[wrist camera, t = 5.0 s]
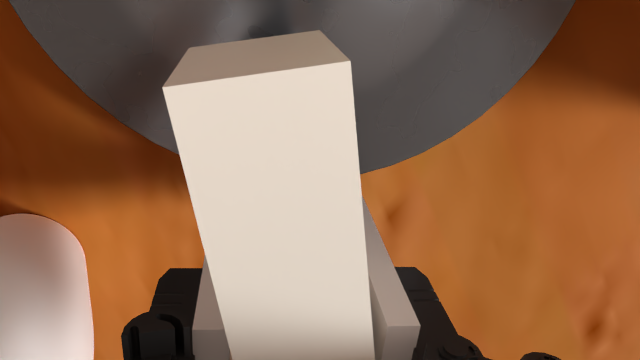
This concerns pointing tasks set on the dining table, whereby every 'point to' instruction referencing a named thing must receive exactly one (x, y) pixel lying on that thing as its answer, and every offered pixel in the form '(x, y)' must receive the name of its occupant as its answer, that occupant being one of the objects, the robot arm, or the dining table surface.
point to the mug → (43, 292)
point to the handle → (277, 193)
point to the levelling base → (302, 16)
